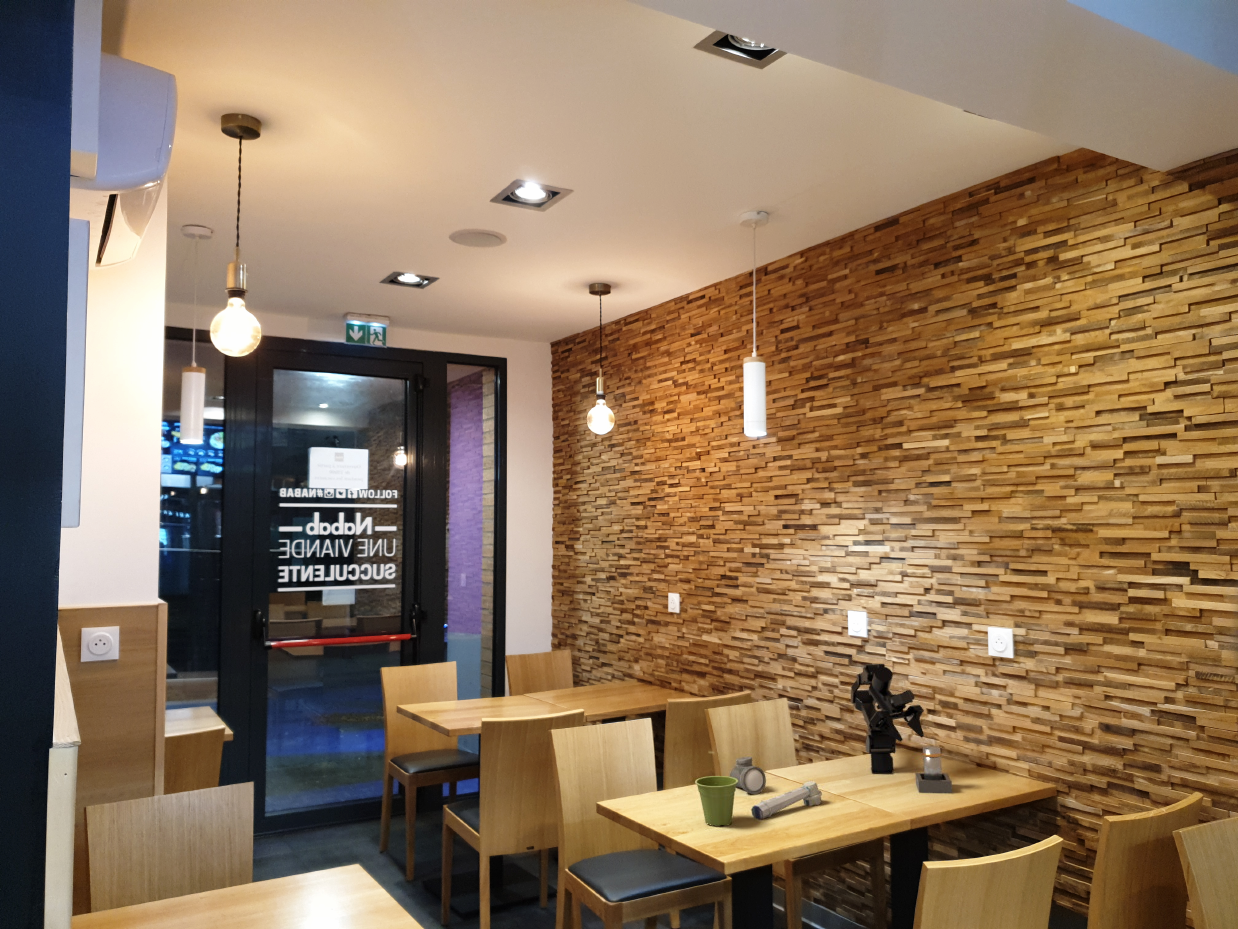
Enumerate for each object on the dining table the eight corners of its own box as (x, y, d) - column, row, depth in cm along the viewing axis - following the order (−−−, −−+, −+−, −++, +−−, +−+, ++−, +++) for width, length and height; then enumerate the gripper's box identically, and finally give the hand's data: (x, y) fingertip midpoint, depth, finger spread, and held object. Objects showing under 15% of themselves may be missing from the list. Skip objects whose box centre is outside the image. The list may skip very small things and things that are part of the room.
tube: (925, 790, 276) (923, 750, 277) (923, 786, 281) (921, 746, 282) (943, 791, 275) (941, 750, 276) (941, 786, 280) (939, 746, 281)
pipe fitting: (769, 791, 280) (763, 756, 282) (746, 797, 277) (740, 762, 279) (750, 786, 291) (744, 753, 293) (728, 792, 288) (722, 758, 290)
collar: (919, 792, 274) (918, 780, 275) (915, 784, 283) (915, 772, 284) (952, 793, 272) (951, 781, 273) (947, 785, 281) (947, 773, 282)
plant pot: (742, 817, 257) (740, 775, 258) (737, 830, 245) (735, 787, 246) (700, 815, 260) (698, 774, 261) (693, 828, 248) (692, 786, 249)
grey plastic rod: (748, 803, 257) (809, 774, 272) (752, 827, 257) (813, 797, 272) (761, 807, 253) (823, 778, 267) (765, 831, 252) (826, 801, 267)
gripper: (874, 685, 288) (903, 726, 277) (917, 679, 297) (946, 719, 286) (858, 707, 294) (885, 748, 283) (900, 700, 303) (928, 740, 292)
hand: (912, 738), depth 286 cm, fingers open, 9 cm apart
